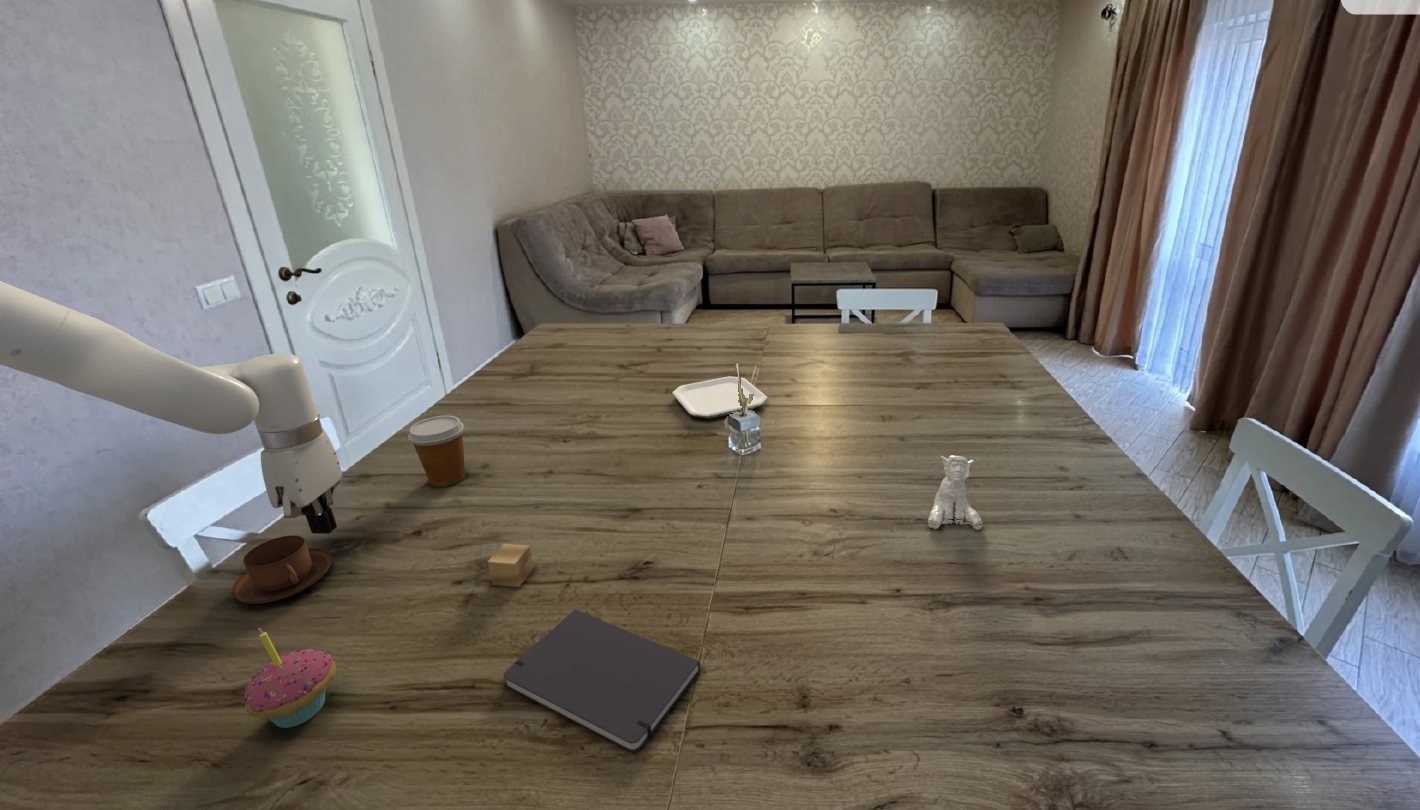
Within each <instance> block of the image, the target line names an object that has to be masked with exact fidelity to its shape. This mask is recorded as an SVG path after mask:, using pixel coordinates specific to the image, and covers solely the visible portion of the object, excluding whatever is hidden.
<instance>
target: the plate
mask: <svg viewBox="0 0 1420 810" xmlns="http://www.w3.org/2000/svg"><path fill="white" fill-rule="evenodd" d="M738 377H739V376H731V375H729V376H724V377H718V378H713V379H709V380H702V381H698V382H693V383H687V384H681V385H679V386H678V387H677V388H676V389H674V390H673V391H672V393H671V394H672V395H671V396H673V398H675V400H677V402H678V403H679V404H680V405H681V407H683V409H684V410H685V411H686V412H687V413H688V414H689V415H690V416H693V417H696V418H700V419H707V420H709V419H717V418H721V417H725V416H729V415H728V413H731V412H736V411H738V412H739V413H742V412H741V411H740V410H741V408H742V406H740V403H739V402H738V400H739V396H738V394H739V392H738ZM741 388H742V389H743V394H744V395H745V397H746V398H749V394H754V396H753V400H752V401H751V403H750V404H748V405H747V406H748V411H752V410H754V409H757V408H759V407H761V406H763V405H764V404H765V402H766V401H767V400H768V396H767V395H766V394H764V393H763V392H762V391H761V390H760V389H758V388H757V387H756V386H755V385H754V384H753V383H751V382H750V381H749V380H747V379H746V378H745V377H741ZM751 408H752V409H751Z"/></svg>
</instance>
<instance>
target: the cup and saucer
mask: <svg viewBox="0 0 1420 810" xmlns="http://www.w3.org/2000/svg"><path fill="white" fill-rule="evenodd" d="M242 562H243V565H244V567H245V570H246V571H245V572H244V573H242V574H241V575H240V576H239V577H238V578H237V580H236V581H235V582H234V584H233V585H232V588H231V595H232V596H233V598H234V599H235V600H236V601H238V602H240V603H244V604H253V605H254V604H255V605H257V604H258V605H260V604H268V603H274V602H277V601H281V600H283V599H287V598H289V597H292V596H294V595H297V594H299V593H301V592H303V591H305V590H306V589H308V588H309V587H311V586H312V585H314V584H315V583H317V582H318V581H319V580H320V579H321V578H323V576H324V575H325V574H326V573H327V572H328V570H329V569H330V567H331V564H332V555H331V554H330V553H329V552H328V551H327V550H325V549H323V548H315V547H310V548H309V547H308V545H307V542H306V540H305V538H304V537H303V536H300V535H284V536H279V537H275V538H272V539H270V540H266V541H265V542H262V543H260V544H258V545H257V546H255V547H253V548H252V549H250V550H249V551H248V552H247V553H246V554H245V555H244V556H243V561H242Z"/></svg>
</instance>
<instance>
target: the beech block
mask: <svg viewBox="0 0 1420 810" xmlns="http://www.w3.org/2000/svg"><path fill="white" fill-rule="evenodd" d="M487 565H488V569H489V570H488V571H489V574H490V579H491V583H492V586H499V587H501V586H502V587H511V588H520V587H521V586H522V584H523V583H524V582H526V579H527V578H528V577H529V575H530V574H531V573H532V572H533V570H534V569H535V567H534V561H533V555H532V551H531V546H530V545H526V544H524V545H523V544H514V543H503V544H502V545H501V546H499V548H498V549H497V551H496V552H495V553H494V554H493V555H492V556H491V557H490V558H489V560H487Z"/></svg>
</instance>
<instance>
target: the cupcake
mask: <svg viewBox="0 0 1420 810" xmlns="http://www.w3.org/2000/svg"><path fill="white" fill-rule="evenodd" d="M257 630H258V631H259V633H260V634H259V635H258V636H259V639H260V640H261V643H262V645H263V647H264V648H265V650H266V652H267V654H268V655H269V657H270V659H271V660H270V661H269V662H268V663H265V664H264V667H262V668H261V669H260V670H258V672H256V673H255V674H254V675H253V676H252V678H251V679H250V680H249V682H248V684H247V685H246V686H245V690H244V693H243V694H244V697H243V702H244V707H245V711H246V713H247V714H248V715H250V716H253V717H254V718H255V717H256V718H259V719H261V720H269V721H270V722H271V723H273V724H274V725H275V726H277V727H278V728H282V729H289V728H293V727H294V728H295V727H297V726H299V725H302V724H304V723H306V722H308V721H310V720H311V719H312V718H313V717H314V716H316V715H317V714H318V713H319V712H320V711H321V709H322V708H323V706H324V704H325V701H326V700H325V699H326V698H325V697H326V690H327V687H328V685H329V684H330V683H331V682H332V681H333V680H334V678H335V677H336V673H337V664H336V662H335V660H334V659H333V657H332V654H329V653H327V652H326V650H325V649H324V650H318V649H314V648H307V649H304V648H301V649H300V650H296V651H291V652H288V653H285V654H283V655H281V656H279V654H278V653H277V651H276V648H275V647H274V644H273V643H272V640H271V639H270V637H269V635H268V633H267V632H266V631H265V632H263V630H262V629H261V627H257Z"/></svg>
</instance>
